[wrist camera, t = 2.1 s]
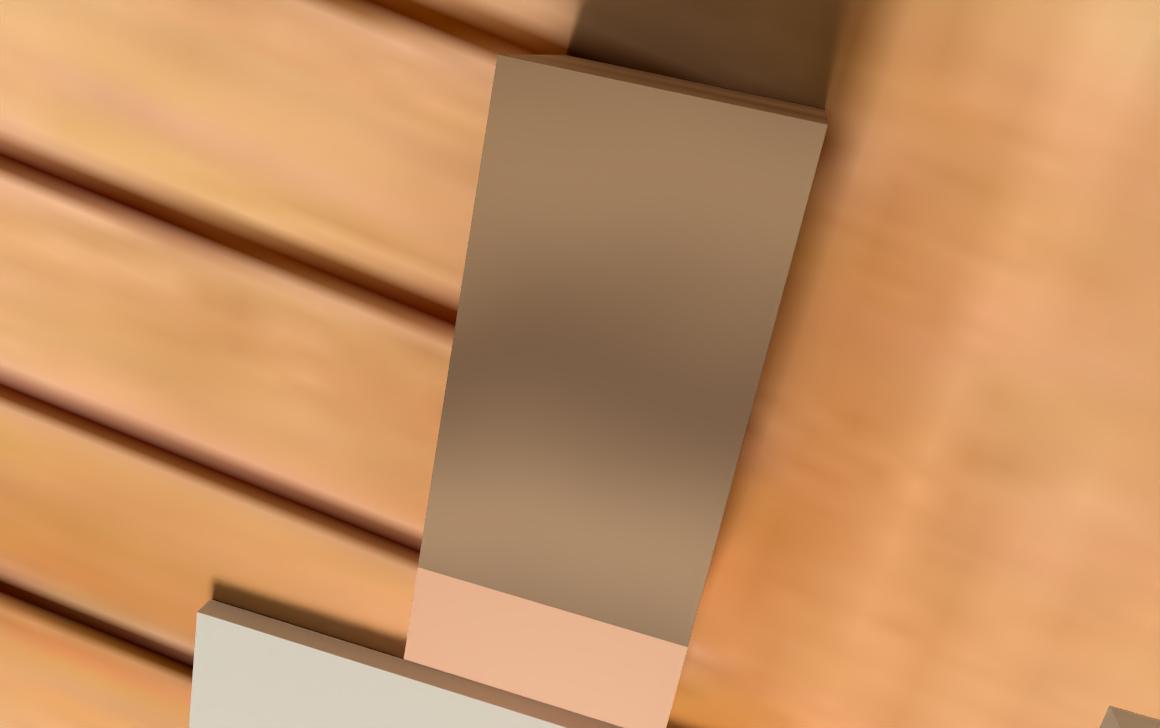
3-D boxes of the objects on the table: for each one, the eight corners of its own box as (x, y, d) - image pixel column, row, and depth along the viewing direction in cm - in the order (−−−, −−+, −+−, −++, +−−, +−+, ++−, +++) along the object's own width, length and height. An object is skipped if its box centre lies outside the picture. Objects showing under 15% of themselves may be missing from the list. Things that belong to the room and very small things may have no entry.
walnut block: (566, 54, 19) (497, 54, 15) (824, 109, 18) (828, 125, 14) (479, 548, 23) (403, 658, 19) (691, 609, 22) (662, 739, 18)
